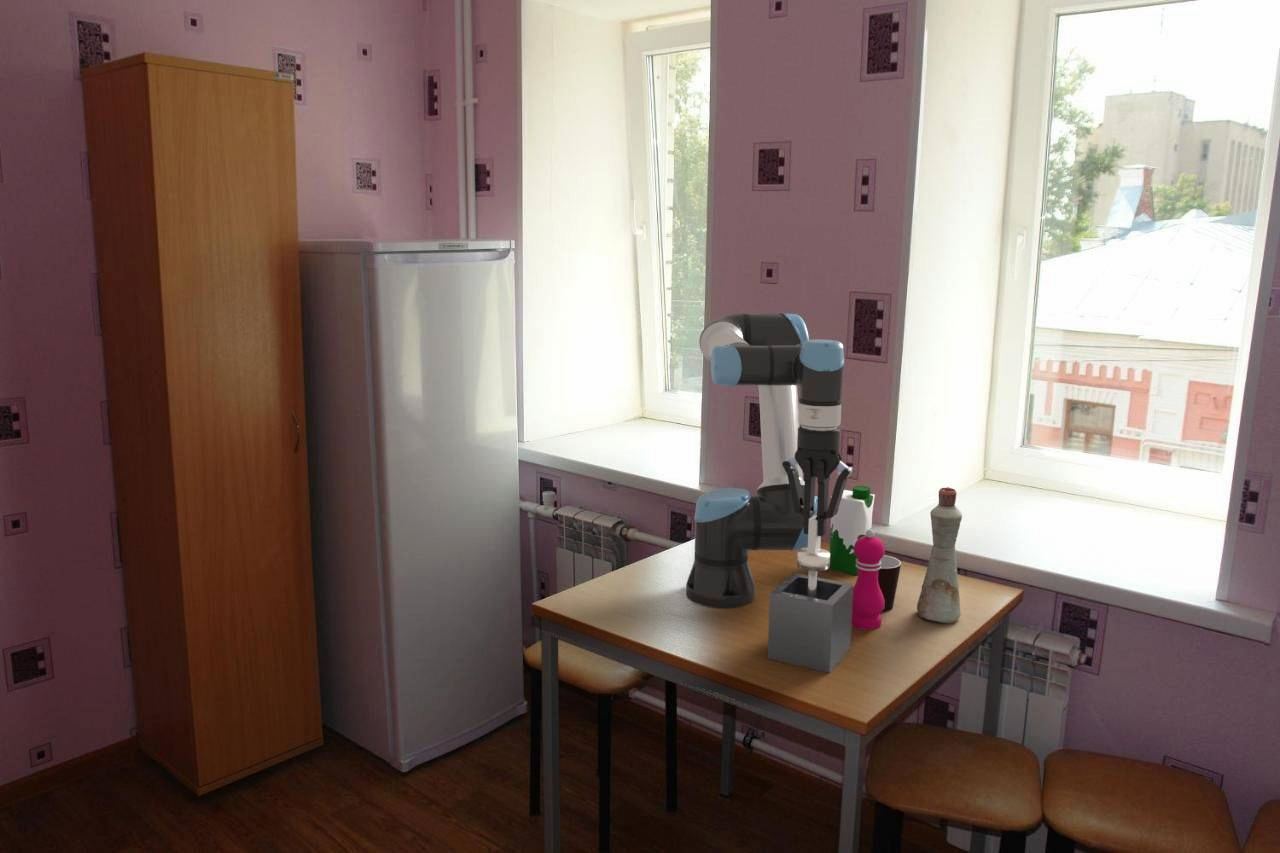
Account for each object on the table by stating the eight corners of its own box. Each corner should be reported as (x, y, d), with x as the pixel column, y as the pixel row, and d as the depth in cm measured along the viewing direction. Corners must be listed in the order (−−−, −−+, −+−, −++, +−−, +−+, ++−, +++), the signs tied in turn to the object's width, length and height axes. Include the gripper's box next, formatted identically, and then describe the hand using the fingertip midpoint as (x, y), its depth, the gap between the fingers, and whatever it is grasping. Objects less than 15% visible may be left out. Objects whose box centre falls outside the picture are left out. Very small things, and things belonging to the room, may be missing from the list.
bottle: (910, 620, 194) (919, 488, 189) (922, 605, 202) (931, 478, 196) (953, 629, 190) (964, 494, 184) (964, 614, 197) (974, 484, 192)
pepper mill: (844, 616, 196) (848, 523, 192) (879, 616, 196) (884, 524, 192) (850, 630, 189) (855, 535, 185) (887, 631, 189) (892, 535, 185)
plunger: (782, 630, 176) (785, 555, 173) (797, 615, 183) (800, 543, 180) (823, 639, 172) (827, 562, 169) (837, 624, 179) (841, 550, 176)
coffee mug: (899, 615, 196) (902, 569, 194) (857, 611, 198) (859, 566, 196) (896, 594, 208) (898, 551, 206) (856, 591, 209) (858, 548, 207)
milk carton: (859, 577, 218) (863, 494, 214) (823, 569, 223) (827, 487, 219) (874, 567, 225) (878, 485, 221) (838, 559, 230) (842, 479, 226)
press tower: (767, 658, 176) (769, 592, 174) (791, 635, 187) (793, 572, 184) (829, 673, 170) (832, 605, 168) (850, 648, 181) (853, 584, 178)
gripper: (777, 426, 170) (773, 551, 174) (847, 433, 163) (841, 563, 168) (792, 419, 176) (788, 540, 181) (860, 426, 170) (854, 551, 174)
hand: (813, 551), depth 174 cm, fingers closed
